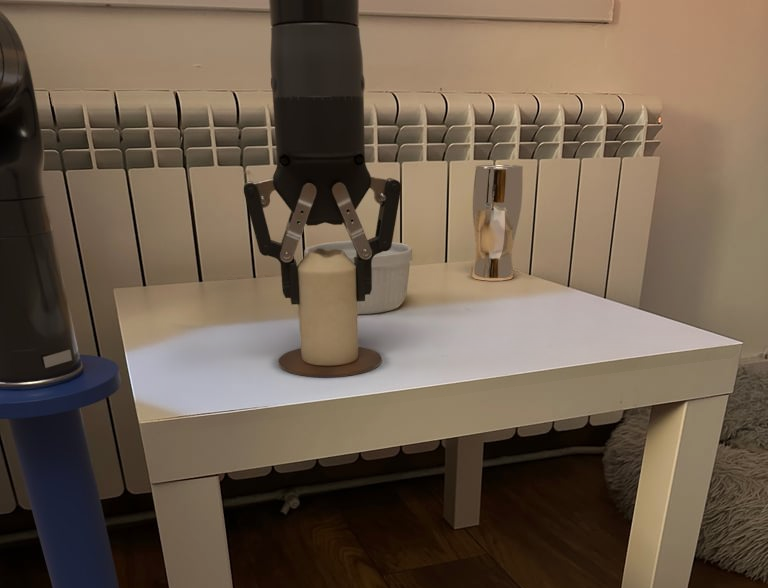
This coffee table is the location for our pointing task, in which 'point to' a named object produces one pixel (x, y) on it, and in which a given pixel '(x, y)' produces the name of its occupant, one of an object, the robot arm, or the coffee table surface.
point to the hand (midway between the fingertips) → (327, 300)
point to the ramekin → (380, 275)
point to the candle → (328, 308)
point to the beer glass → (496, 219)
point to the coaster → (362, 364)
